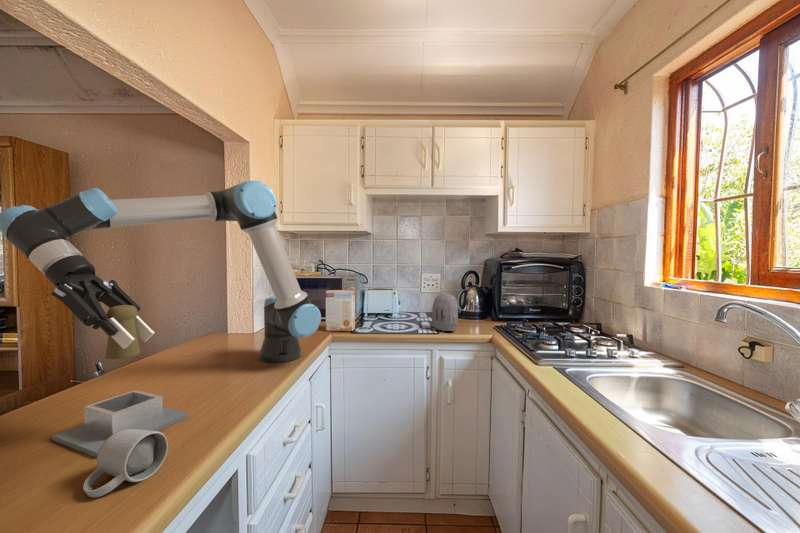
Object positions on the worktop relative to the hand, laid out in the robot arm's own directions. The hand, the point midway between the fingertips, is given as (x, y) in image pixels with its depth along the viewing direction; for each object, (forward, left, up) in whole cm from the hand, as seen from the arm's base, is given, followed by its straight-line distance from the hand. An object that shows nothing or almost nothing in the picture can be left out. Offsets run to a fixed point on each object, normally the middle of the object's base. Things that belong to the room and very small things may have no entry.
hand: (139, 340), depth 76 cm
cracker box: (-103, -13, -20) cm, 105 cm away
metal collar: (+1, -3, -20) cm, 20 cm away
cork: (+1, -3, -3) cm, 5 cm away
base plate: (+1, -3, -20) cm, 20 cm away
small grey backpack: (-124, +36, -20) cm, 130 cm away
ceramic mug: (+12, +16, -20) cm, 28 cm away
